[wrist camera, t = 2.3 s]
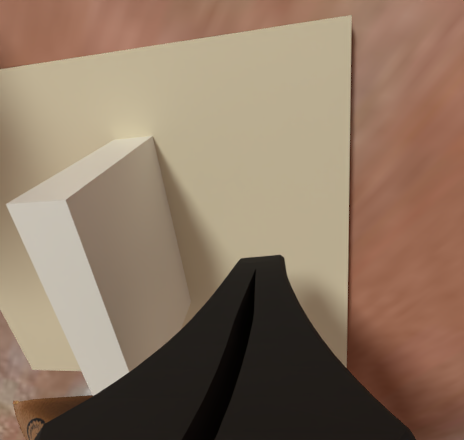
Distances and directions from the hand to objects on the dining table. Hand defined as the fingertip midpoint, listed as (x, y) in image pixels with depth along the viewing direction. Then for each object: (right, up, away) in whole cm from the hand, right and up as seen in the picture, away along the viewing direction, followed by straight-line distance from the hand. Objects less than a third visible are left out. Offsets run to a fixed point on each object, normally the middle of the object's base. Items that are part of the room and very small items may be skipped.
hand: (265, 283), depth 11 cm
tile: (-4, +2, +4) cm, 6 cm away
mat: (-5, +1, +6) cm, 8 cm away
